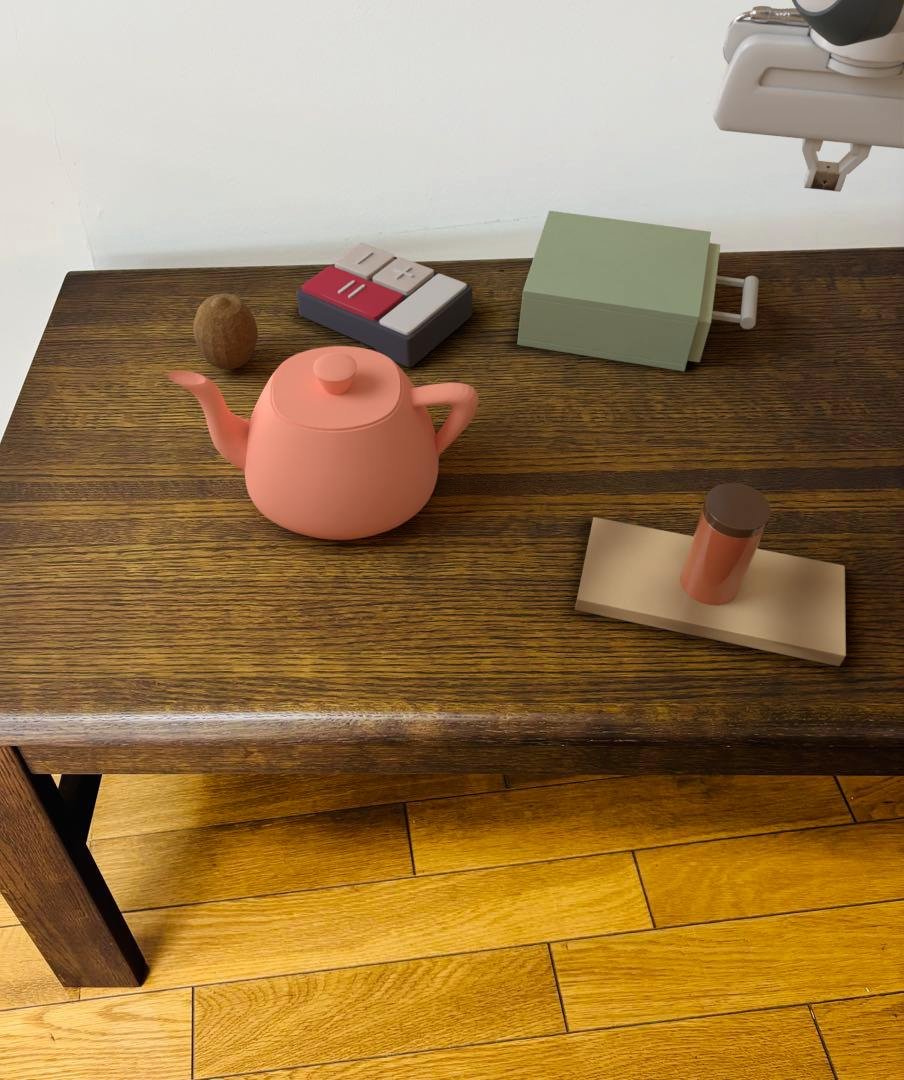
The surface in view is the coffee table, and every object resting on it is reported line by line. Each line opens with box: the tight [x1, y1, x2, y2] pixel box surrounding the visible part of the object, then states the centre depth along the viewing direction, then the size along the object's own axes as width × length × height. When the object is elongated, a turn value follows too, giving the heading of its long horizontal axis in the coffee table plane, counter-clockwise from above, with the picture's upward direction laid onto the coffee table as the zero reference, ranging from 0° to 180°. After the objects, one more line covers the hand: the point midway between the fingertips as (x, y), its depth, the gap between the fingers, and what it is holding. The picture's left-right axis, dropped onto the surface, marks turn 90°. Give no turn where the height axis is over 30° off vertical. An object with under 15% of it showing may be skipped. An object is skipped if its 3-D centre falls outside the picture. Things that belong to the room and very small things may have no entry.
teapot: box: [167, 345, 480, 541], centre depth 84 cm, size 25×17×13 cm
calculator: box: [295, 242, 473, 368], centre depth 104 cm, size 11×4×15 cm
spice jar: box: [680, 482, 772, 605], centre depth 76 cm, size 5×5×9 cm
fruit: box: [192, 293, 259, 370], centre depth 98 cm, size 6×6×8 cm
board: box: [574, 516, 847, 667], centre depth 80 cm, size 20×9×2 cm, turn 73°
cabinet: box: [516, 210, 712, 372], centre depth 101 cm, size 17×15×7 cm
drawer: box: [687, 242, 760, 363], centre depth 101 cm, size 20×13×5 cm
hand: (821, 186), depth 84 cm, fingers closed
